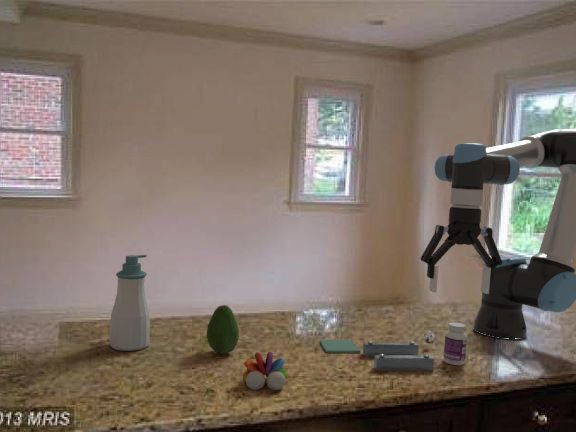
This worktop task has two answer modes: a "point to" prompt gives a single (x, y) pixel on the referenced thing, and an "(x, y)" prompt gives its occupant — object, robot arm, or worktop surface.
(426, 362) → the channel
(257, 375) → the rainbow fan toy
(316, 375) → the worktop surface
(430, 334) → the adhesive hook
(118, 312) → the soap bottle
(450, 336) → the pill bottle
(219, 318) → the avocado
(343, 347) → the pad
